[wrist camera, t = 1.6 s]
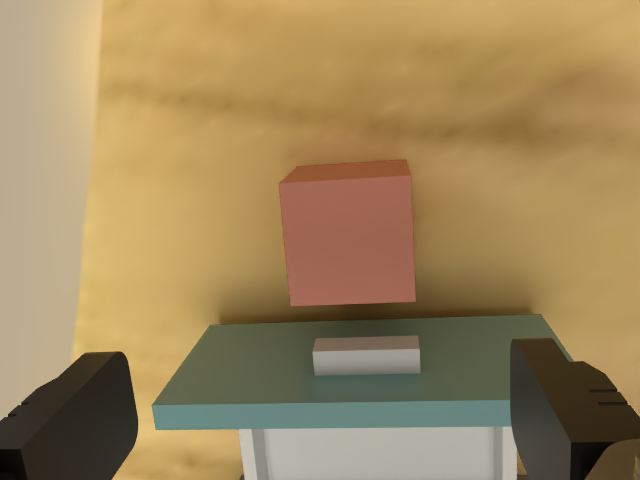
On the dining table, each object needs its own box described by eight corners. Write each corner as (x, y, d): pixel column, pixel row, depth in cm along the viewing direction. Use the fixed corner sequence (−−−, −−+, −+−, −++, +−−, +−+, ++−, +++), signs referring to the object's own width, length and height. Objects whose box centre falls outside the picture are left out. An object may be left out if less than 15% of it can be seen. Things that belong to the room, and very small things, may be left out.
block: (405, 159, 26) (410, 175, 22) (410, 264, 28) (415, 301, 23) (297, 166, 27) (278, 183, 22) (306, 269, 28) (290, 306, 24)
